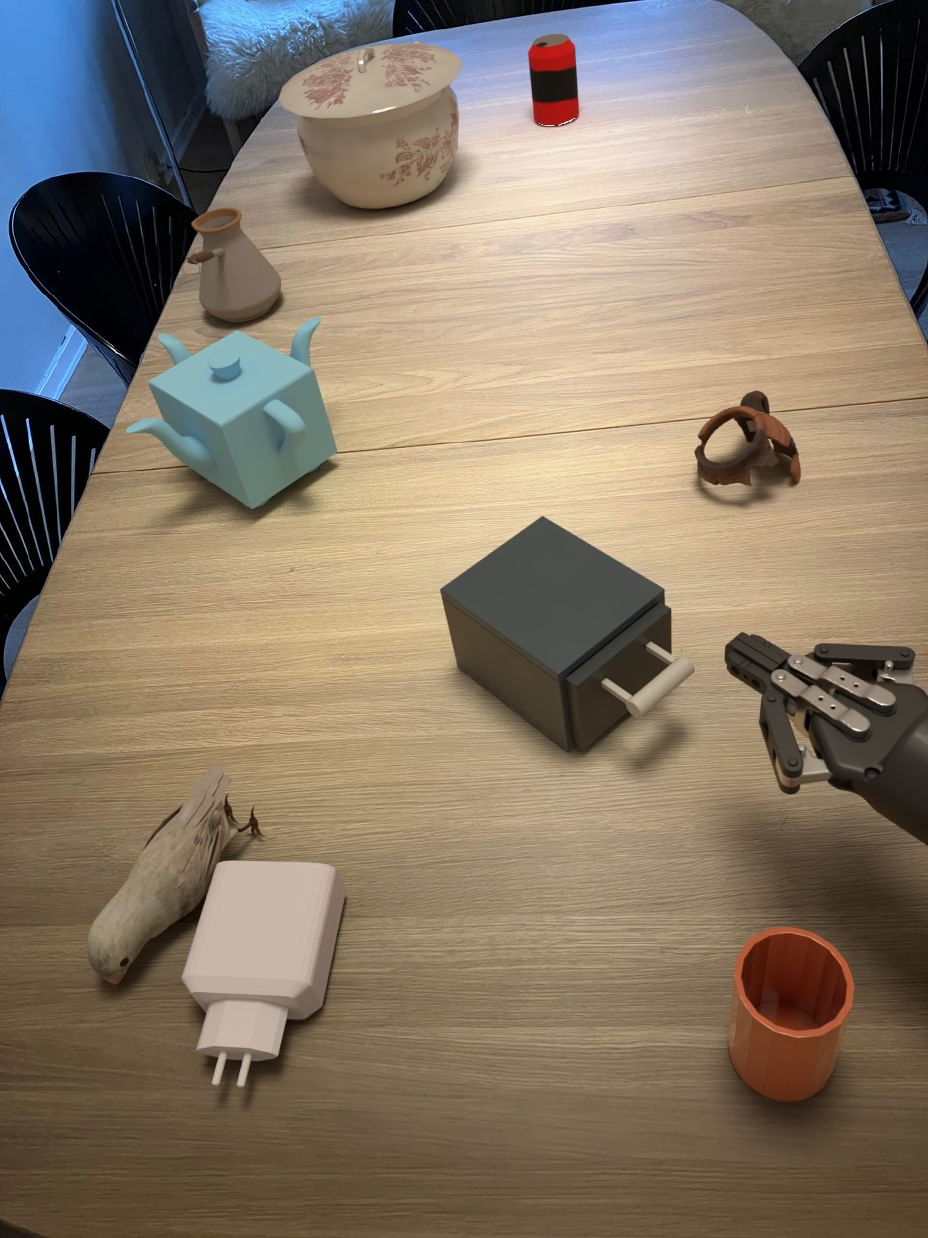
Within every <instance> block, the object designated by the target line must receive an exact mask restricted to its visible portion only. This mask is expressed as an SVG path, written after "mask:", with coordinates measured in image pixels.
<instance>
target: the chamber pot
mask: <svg viewBox="0 0 928 1238" xmlns="http://www.w3.org/2000/svg"><path fill="white" fill-rule="evenodd" d="M462 61H463V60H462V59H461V58H460V56H458V55H457V54H456V53H455V52H454V51H452V49H449V48H445V47H442V46H439V45H436V44H427V43H425V42H424V41H421V40H415V41H414V42H402V43H401V42H400V43H399V42H398V43H384V44H378V45H372V46H369V45H367V46H363V47H360V48H356V49H352V50H349V51H345V52H342V53H338V54H335V55H332V56H330V57H328V58H325V59H322V60H321V61H318V62H316V63H314V64H312V65H310V66H308V67H306V68H304V69H303V70H301V71H300V72H298V73H296V74H294V75H293V76H292V77H291V78H290V79H289V80H288V81H287V82H285V84H284V85H283V86H282V87H281V90H280V92H279V97H278V101H279V104H280V105H281V106H282V108H283V110H285V111H288V112H290V113H292V114H294V115H297V116H298V117H299V119H298V123H297V127H296V131H297V132H296V133H297V137H298V141H299V144H300V148H301V150H302V152H303V154H304V156H305V159H306V161H307V163H308V165H309V167H310V169H311V172H312V173H313V174H314V177H315V178H316V179H317V180H318V181H319V182H320V184H322V185H323V186H324V187H325V188H326V190H328V191H329V193H331V195H332V196H333V197H334V198H335V199H337V200H338V201H341V203H344V204H346V205H348V206H350V207H355V208H359V209H387V208H394V207H399V206H402V205H406V204H409V203H412V202H414V201H416V200H419V199H422V198H423V197H425V196H428V195H430V193H432V192H433V191H434V190H436V189H437V188H438V187H440V185H441V183H442V182H443V180H444V179H445V177H446V176H447V175H448V173H449V171H450V168H451V165H452V163H453V161H454V158H455V155H456V153H457V151H458V148H459V147H458V146H459V125H460V119H459V118H460V112H459V106H458V105H459V104H458V97H457V94H456V93H455V91H454V90H453V89H452V87H451V84H452V83H454V81H455V80H456V78H457V77H458V76H459V74H460V73H461V72H462V69H463V66H462V65H463V64H462Z"/></svg>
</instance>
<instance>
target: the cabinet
mask: <svg viewBox="0 0 928 1238" xmlns="http://www.w3.org/2000/svg"><path fill="white" fill-rule="evenodd" d="M439 591H440V596H441V601H442V606H443V608H444V614H445V618H446V623H447V627H448V631H449V632H448V633H449V635H450V640H451V644H452V648H453V654H454V658H455V662H456V666H457V668H458V669H460V670H461V671H462V672H464V673H465V674H466V675H467V676H468V677H470V678H471V679H472V680H473V681H475V682H476V683H478V684H479V685H480V686H482V687H483V689H485V690H487V691H488V692H489V693H491V694H492V695H493V696H494V697H496V698H497V699H498V700H499V701H501V702H502V703H503V704H504V705H506V706H507V707H509V708H510V709H511V710H512V711H514V712H515V713H516V714H518V715H519V716H520V717H521V718H522V719H524V720H525V721H527V722H528V723H529V724H530V725H532V726H533V727H534V728H535V729H537V730H538V731H539V732H541V733H542V734H543V735H544V736H545V737H547V738H548V739H549V740H551V741H552V742H553V743H555V744H556V745H557V746H558V747H560V748H561V749H562V750H563V751H565V752H566V753H569V752H571V751H572V750H573V749H574V748H576V746H577V745H576V744H575V743H574V742H573V741H572V732H571V724H570V715H569V707H568V698H567V690H566V681H565V678H566V677H567V675H568V674H569V673H571V672H572V671H573V670H574V669H575V668H577V667H578V666H579V665H580V664H582V663H583V662H584V661H585V660H587V659H588V658H589V657H590V656H592V655H593V654H594V653H595V652H597V651H598V650H599V649H600V648H601V647H603V646H604V645H605V644H606V643H608V642H609V641H610V640H611V639H613V638H614V637H615V636H616V635H618V634H619V633H620V632H621V631H623V630H624V629H625V628H626V627H628V626H629V625H630V624H631V623H632V622H634V621H635V620H636V619H637V618H639V617H640V618H641V617H642V616H643V615H644V614H646V613H647V612H648V611H649V610H651V609H652V608H653V607H654V606H655V605H657V604H658V603H659V602H661V603H663V604H665V605H666V597H665V596H666V589H665V588H664V587H662V586H661V585H659V584H657V583H655V582H654V581H653V580H651V579H649V578H647V577H646V576H644V575H642V574H640V573H639V572H637V571H636V570H634V569H632V568H630V567H629V566H628V565H625V564H623V563H622V562H621V561H619V560H618V559H615V558H614V557H613V556H611V555H609V554H607V553H606V552H603V551H602V550H601V549H598V547H596V546H594V545H592V544H590V543H589V542H587V541H585V540H584V539H582V538H581V537H579V536H577V535H575V534H574V533H572V532H571V531H569V530H567V529H566V528H564V527H562V526H561V525H559V524H557V523H555V522H554V521H552V520H550V519H549V518H548V517H546V516H543V515H541V516H540V517H538V518H537V519H536V520H534V521H532V522H531V523H530V524H529V525H527V526H526V527H524V528H523V529H522V530H520V531H518V532H517V533H516V534H514V535H513V536H512V537H510V538H509V539H508V540H507V541H505V542H504V543H502V544H501V545H500V546H498V547H497V548H495V549H493V550H492V551H491V552H490V553H488V554H487V555H485V556H484V557H483V558H481V559H479V561H477V562H475V563H474V564H473V565H472V566H470V567H469V568H467V569H466V570H465V571H463V572H462V573H460V574H459V575H458V576H456V577H454V579H452V580H450V581H449V582H448V583H446V584H445V585H443V586H441V588H439Z"/></svg>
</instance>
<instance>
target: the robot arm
mask: <svg viewBox="0 0 928 1238" xmlns="http://www.w3.org/2000/svg"><path fill="white" fill-rule="evenodd" d="M915 659H916V651H915V650H914V649H912V648H911V647H908V646H900V645H899V646H898V645H878V644H877V645H874V644H852V643H831V642H830V643H828V642H822V643H821V642H820V643H818V644H816V645H815V646H814V648H813V651H811V652H809V653H807V654H804V655H803V654H800V653H795V654H792V653H789V652H788V651H786V650H784V649H782V647H779V646H777V645H776V644H774V643H772V642H771V641H769V640H767V639H766V638H764V637H763V636H761V635H759V634H753V633H750V634H748V633H746V632H744V631H741V632H739V633H738V634H737V635H736V636H734V637H733V638H732V639H731V640H730V641H728V643H726V644H725V645H724V663H725V664H726V670H727V671H728V673H729V674H730V675H731V676H732V677H734V678H735V679H737V680H738V681H740V682H742V683H743V684H744V685H746V686H748V687H749V688H751V689H753V691H756V692H757V693H759V694H760V695H761V698H760V706H759V707H760V708H759V716H758V725H759V728H760V731H761V732H760V733H761V734H762V737H763V742H764V743H765V748H766V751H767V753H768V756H769V759H770V763H771V766H772V769H773V772H774V775H775V778H776V782H777V784H778V788H779V790H780V791H781V792H782V794H786V795H791V796H792V795H795V794H797V793H798V792H800V789H801V785H806V784H812V783H820V782H821V783H822V782H827V783H828V784H829V785H830V786H831V787H833V788H834V789H837V790H839V791H842V792H843V791H844V792H847V793H848V792H849V793H852V794H855V795H857V796H859V797H861V798H862V799H863V800H864V801H865V802H866V803H867V804H868V805H869V806H870V807H871V808H872V809H873V810H874V811H875V812H876V813H877V814H879V815H880V816H882V817H883V818H884V819H887V820H888V821H889V822H891V823H893V824H894V825H896V827H899V828H900V829H901V830H903V831H904V832H906V833H907V834H909V835H911V836H912V837H914V838H915V839H917V840H918V841H919V842H921V843H922V844H924V845H925V846H927V847H928V694H927V692H926V690H924V689H922V687H920V686H918V685H915V681H914V671H913V669H914V665H915ZM791 722H792V724H793V727H794V729H796V731H797V732H799V733H800V734H802V735H803V736H804V737H805V738H807V739H808V740H809V742H810V744H811V747H812V749H813V752H814V754H815V756H814V755H813V754H812V752H811V750H810V748H807V746H806V744H804V743H799V744H798V742H797V738H796V736H795V733H794V730H793V727H792V724H791Z"/></svg>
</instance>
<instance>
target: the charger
mask: <svg viewBox="0 0 928 1238" xmlns="http://www.w3.org/2000/svg"><path fill="white" fill-rule="evenodd" d="M346 894H347V889H346V886H345V884H344V881H343V880H342V878H341V876H340V873H339V870H338V869H337V868H336V866H333V865H330V864H326V863H321V862H310V861H309V862H308V861H307V862H306V861H304V862H303V861H268V860H267V861H265V860H224V861H223V860H222V861H219V863H218V864H217V865H216V868H215V871H214V874H213V878H212V881H211V884H210V886H209V888H208V890H207V893H206V898H205V901H204V904H203V907H202V910H201V914H200V917H199V921H198V923H197V926H196V930H195V932H194V936H193V940H192V943H191V947H190V949H189V952H188V956H187V958H186V962H185V966H184V968H183V972H182V976H181V981H182V982H183V984H184V985H185V988H187V990H188V992H189V993H190V995H191V996H192V997H193V999H194V1000H195V1001H196V1003H198V1005H199V1006H200V1008H201V1009H202V1010H203V1011H204V1013H206V1014H205V1017H204V1020H203V1024H202V1028H201V1032H200V1035H199V1039H198V1042H197V1045H196V1050H195V1052H197V1053H201V1054H203V1055H206V1056H210V1057H215V1058H217V1062H216V1065H215V1069H214V1072H213V1077H212V1081H211V1085H212V1086H214V1087H218V1086H220V1084H221V1080H222V1078H223V1073H224V1068H225V1065H226V1060H235V1061H242V1062H241V1066H240V1071H239V1075H238V1078H237V1082H236V1087H238V1088H240V1089H243V1088H244V1087H245V1085H246V1083H247V1079H248V1078H247V1077H248V1074H249V1070H250V1065H251V1062H261V1061H268V1060H273V1059H275V1058H277V1057H278V1056H279V1054H280V1048H281V1044H282V1040H283V1035H284V1031H285V1026H286V1023H287V1020H305V1019H307V1018H309V1017H310V1016H312V1014H314V1013H315V1012H316V1011H318V1010H319V1009H321V1008H322V1007H323V1005H324V1004H323V1003H324V998H325V994H326V989H327V985H328V980H329V974H330V970H331V966H332V961H333V955H334V951H335V945H336V941H337V937H338V932H339V927H340V923H341V922H340V921H341V917H342V912H343V907H344V902H345V898H346Z"/></svg>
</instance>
